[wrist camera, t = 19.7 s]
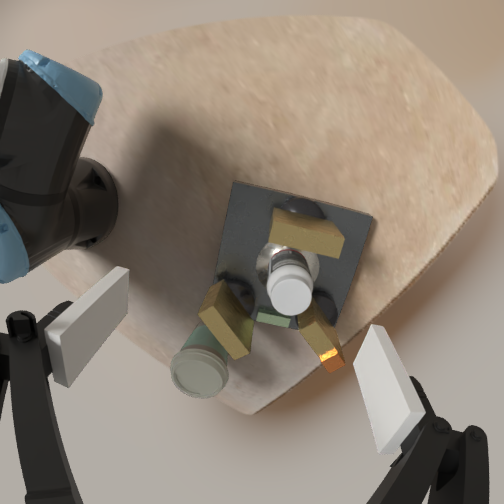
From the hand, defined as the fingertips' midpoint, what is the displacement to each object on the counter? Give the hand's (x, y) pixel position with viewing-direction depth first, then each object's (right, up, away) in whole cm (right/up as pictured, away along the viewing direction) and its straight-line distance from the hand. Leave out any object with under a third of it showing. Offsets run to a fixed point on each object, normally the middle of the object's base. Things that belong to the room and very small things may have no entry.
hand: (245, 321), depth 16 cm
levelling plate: (+6, +2, +31) cm, 32 cm away
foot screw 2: (+7, +8, +27) cm, 29 cm away
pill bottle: (+5, +2, +29) cm, 30 cm away
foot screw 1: (-2, -3, +32) cm, 32 cm away
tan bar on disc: (+10, -5, +31) cm, 33 cm away
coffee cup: (-7, -10, +37) cm, 39 cm away
